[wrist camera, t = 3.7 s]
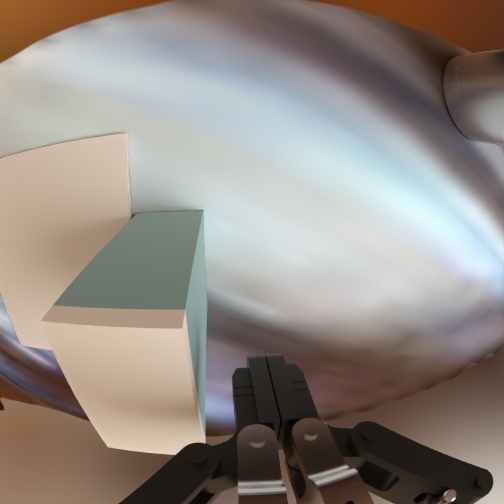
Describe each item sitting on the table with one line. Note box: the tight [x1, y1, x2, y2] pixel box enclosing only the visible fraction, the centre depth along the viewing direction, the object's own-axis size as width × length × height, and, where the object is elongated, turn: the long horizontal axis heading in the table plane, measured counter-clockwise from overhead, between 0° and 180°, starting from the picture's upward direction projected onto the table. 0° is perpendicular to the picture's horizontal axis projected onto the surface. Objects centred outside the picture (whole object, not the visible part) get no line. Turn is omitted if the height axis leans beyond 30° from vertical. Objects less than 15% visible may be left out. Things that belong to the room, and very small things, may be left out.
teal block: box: [41, 210, 207, 455], centre depth 15 cm, size 5×8×14 cm, turn 178°
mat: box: [0, 133, 132, 351], centre depth 20 cm, size 17×20×1 cm
